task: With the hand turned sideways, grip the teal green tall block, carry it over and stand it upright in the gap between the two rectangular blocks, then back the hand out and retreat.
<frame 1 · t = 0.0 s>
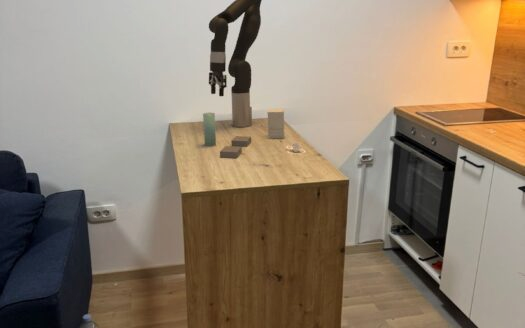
hand: (217, 95, 238), 17 cm above the countertop, tool pointing down, fingers open, 8 cm apart
teacup and saucer: (297, 151, 206), on the countertop
teal green tall block: (210, 144, 215), on the countertop
supplement box: (276, 136, 228), on the countertop
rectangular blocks: (236, 149, 208), on the countertop
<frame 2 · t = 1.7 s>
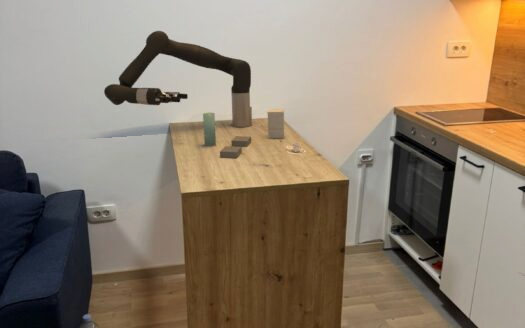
hand: (183, 98, 211), 21 cm above the countertop, tool horizontal, fingers open, 8 cm apart
nothing on the countertop moved.
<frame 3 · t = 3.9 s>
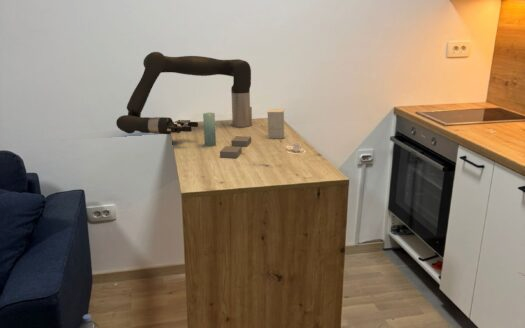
hand: (194, 126, 214), 8 cm above the countertop, tool horizontal, fingers open, 8 cm apart
nothing on the countertop moved.
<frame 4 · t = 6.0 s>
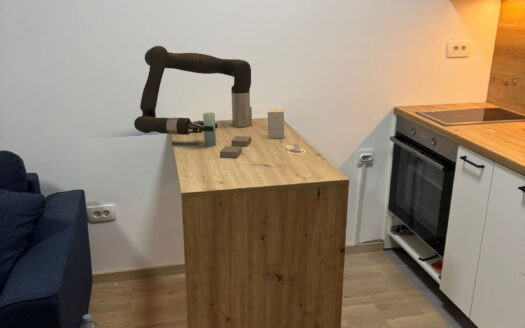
hand: (215, 127, 212), 8 cm above the countertop, tool horizontal, fingers closed on teal green tall block, 5 cm apart
teal green tall block: (210, 144, 215), on the countertop, touching gripper
everything else where it was.
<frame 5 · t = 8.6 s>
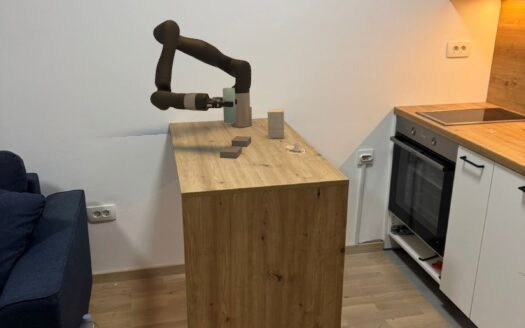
hand: (235, 103, 202), 20 cm above the countertop, tool horizontal, fingers closed on teal green tall block, 5 cm apart
teal green tall block: (229, 121, 205), point 12 cm above the countertop, touching gripper
everything else where it was.
when the fingers open (9 cm above the countertop, at t = 11.5 s): teal green tall block stays where it is, on the countertop.
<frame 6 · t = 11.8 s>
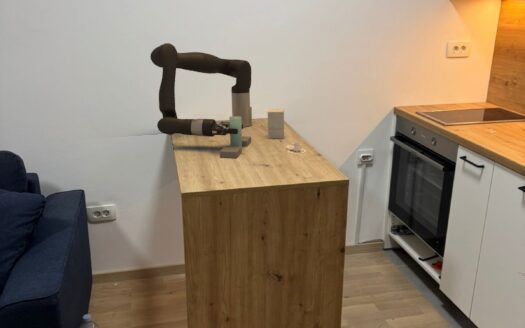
hand: (240, 129, 205), 9 cm above the countertop, tool horizontal, fingers open, 8 cm apart
teal green tall block: (236, 149, 208), on the countertop
everything else where it was.
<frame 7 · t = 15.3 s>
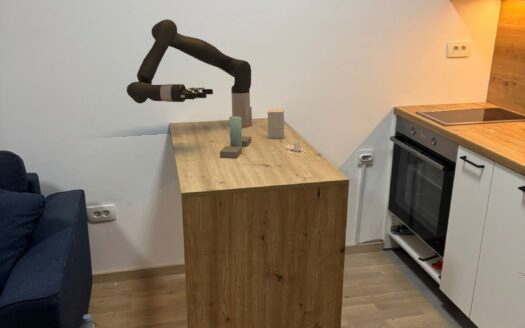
hand: (209, 93, 203), 24 cm above the countertop, tool horizontal, fingers open, 8 cm apart
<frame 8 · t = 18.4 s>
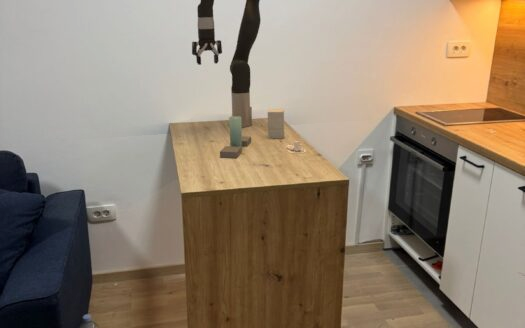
hand: (207, 63, 225), 33 cm above the countertop, tool pointing down, fingers open, 8 cm apart
at the end: teal green tall block 0.1 cm from the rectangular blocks (horizontally); teal green tall block tilted 0°; the gripper is holding nothing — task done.
